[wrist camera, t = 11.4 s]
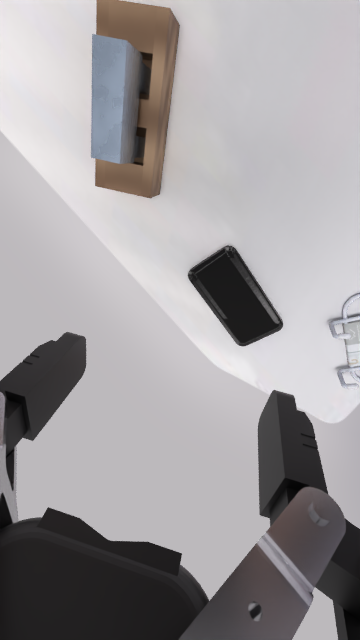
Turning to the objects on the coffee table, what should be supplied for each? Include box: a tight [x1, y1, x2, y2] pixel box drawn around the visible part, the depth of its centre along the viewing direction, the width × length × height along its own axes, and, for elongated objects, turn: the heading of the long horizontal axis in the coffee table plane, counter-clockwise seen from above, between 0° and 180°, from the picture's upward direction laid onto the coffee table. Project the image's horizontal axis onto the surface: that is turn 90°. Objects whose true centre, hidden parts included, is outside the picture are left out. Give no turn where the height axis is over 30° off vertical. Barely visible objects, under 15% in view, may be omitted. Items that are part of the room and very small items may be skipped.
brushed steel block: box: [91, 34, 152, 164], centre depth 29 cm, size 9×3×8 cm, turn 170°
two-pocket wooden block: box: [95, 0, 180, 198], centre depth 32 cm, size 16×7×4 cm, turn 171°
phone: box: [188, 246, 283, 346], centre depth 42 cm, size 8×1×15 cm
